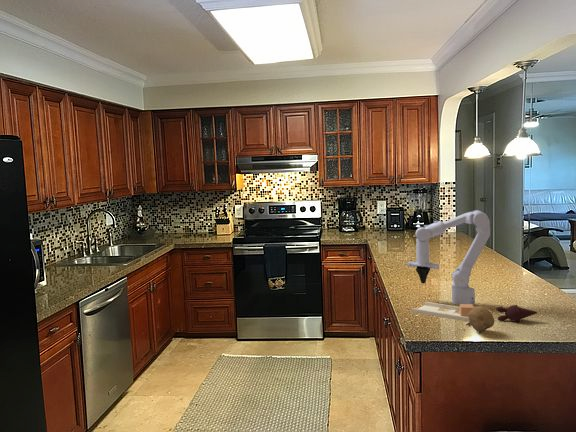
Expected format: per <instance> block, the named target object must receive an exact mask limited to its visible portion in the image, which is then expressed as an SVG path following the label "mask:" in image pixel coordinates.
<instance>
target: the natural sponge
mask: <svg viewBox="0 0 576 432" xmlns="http://www.w3.org/2000/svg"><path fill="white" fill-rule="evenodd" d="M469 320H470V323H471V325H472V326H471V327H472V329H474V330H475V332H478V333H483V332H485V331H487V330H488V329H491V328H492V327H493V326H494V325H495V318H494V315H493V314H492V311H490V309H488V308H487V307H485V306H482V305H480V306H475V307H474V308H473V309H472V310H471V311H470V312H469Z"/></svg>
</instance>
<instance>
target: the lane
mask: <svg viewBox="0 0 576 432" xmlns="http://www.w3.org/2000/svg"><path fill="white" fill-rule="evenodd" d="M440 309H444V311H443V310H440ZM445 309H446V311H445ZM457 311H459V312H460V306H458V305H449V304H443V303H438V302H437V303H436V302H432V301H431V302H430V301H424V302H423V305H421V306H420V307H419V308H417V307H416V308H415V307H412V308H411V313H413V314H414V313H415V314H421V315H426V316H432V317H438V318H445V319H450V320H456V321H462V322H467V323H466V324H465V326H470V327H472V325H471V323H470V320H469V317H464V316H460V313H457Z"/></svg>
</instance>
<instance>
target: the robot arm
mask: <svg viewBox="0 0 576 432" xmlns="http://www.w3.org/2000/svg"><path fill="white" fill-rule="evenodd" d="M490 222H491V221H490V219H489V217H488V215H487V214H486V213H485V212H483V211H481V210H478V209H475V210H472V211H468V212H465V213H462V214H460V215H458V216H455V217H453V218H450V219H448V220H446V221H442V220H434V221H433V223H430V224H425V225H423V227H418V228H417V229H416V230H415V232H414V235H415V237H416V239H415V241H416V244H415V250H416V251H415V254H416V261H408V262H407V267H412V268H413V267H415V271H416V272H417V275H418V276H419V277H418V278H419V280H420V284H423V285H424V284H426V283H427V278H428V274H429V273H430V271H431V269H434V270H438V269H440V264H439V263H433V262H430V243H429V239H430V238H434V237H436V236H439V235H442V234H444V233H446V230H448V229H450V228H453V227H456V226H458V225H462V224H468V225H472V224H473V226H474V228H475V230H476V232H477V234H476V235H475V237H474V239H473V241H472V243H471V245H470V246H469V249H468V250H467V252H466V255H465V256H464V258H463V260H462V262H461V263H460V264H459V265H458V266H457V268H456V269H455V270H453V271H452V273H451V280H452V281H453V283H452V284H451V303H453V305H454V304H455V305H460V304H473V306H476V291H475V288H474V287H470V285H469V283H470V277H471V274H472V269H473V267H474V265H475V264H476V262H477V261H478V259H479V257H480V255H481V253H482V251H483V250H484V248H485V246H486V244H487V242H488V240H489V238H490V237H491V224H490Z"/></svg>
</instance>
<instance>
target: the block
mask: <svg viewBox="0 0 576 432" xmlns="http://www.w3.org/2000/svg"><path fill="white" fill-rule="evenodd" d="M459 307H460V311H459V314H460V316H464V317H469V312H470V311H471V310H472V309H473V308H475V307H474V305H473V304H459Z"/></svg>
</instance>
